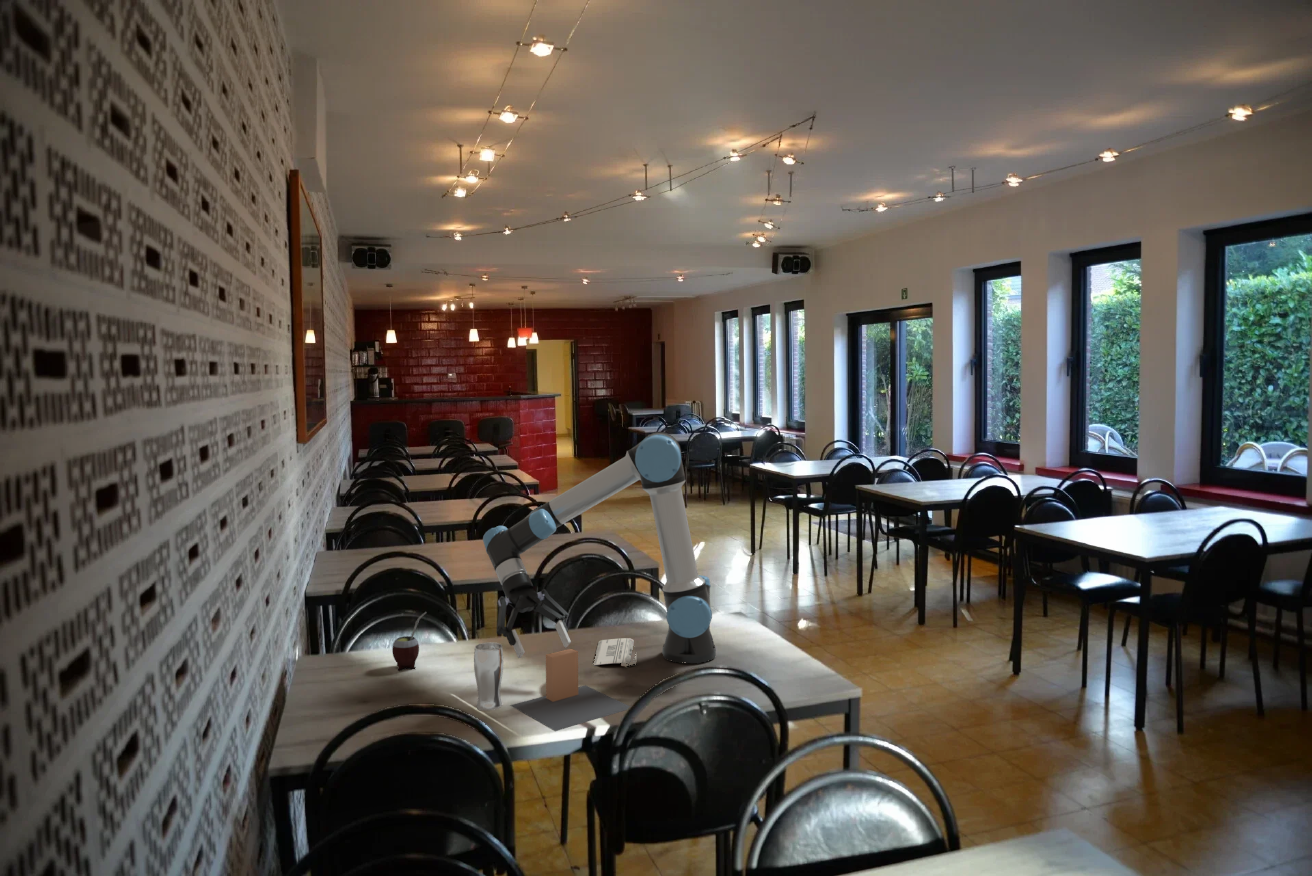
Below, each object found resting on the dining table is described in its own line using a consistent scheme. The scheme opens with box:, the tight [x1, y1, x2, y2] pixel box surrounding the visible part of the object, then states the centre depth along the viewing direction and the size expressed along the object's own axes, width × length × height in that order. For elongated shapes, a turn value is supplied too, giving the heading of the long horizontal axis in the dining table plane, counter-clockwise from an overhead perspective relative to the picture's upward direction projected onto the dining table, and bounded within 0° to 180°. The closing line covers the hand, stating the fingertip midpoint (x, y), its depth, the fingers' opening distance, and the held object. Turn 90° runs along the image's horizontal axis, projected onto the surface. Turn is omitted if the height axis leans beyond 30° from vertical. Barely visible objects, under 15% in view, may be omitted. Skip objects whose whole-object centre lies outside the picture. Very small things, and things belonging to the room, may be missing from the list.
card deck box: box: [545, 648, 579, 702], centre depth 225 cm, size 8×3×11 cm, turn 129°
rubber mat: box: [509, 684, 631, 732], centre depth 218 cm, size 22×20×1 cm
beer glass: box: [473, 641, 504, 712], centre depth 219 cm, size 7×7×15 cm
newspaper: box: [592, 637, 638, 667], centre depth 259 cm, size 23×12×2 cm, turn 179°
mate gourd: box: [391, 611, 427, 672], centre depth 248 cm, size 8×8×15 cm
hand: (545, 650), depth 229 cm, fingers open, 13 cm apart
